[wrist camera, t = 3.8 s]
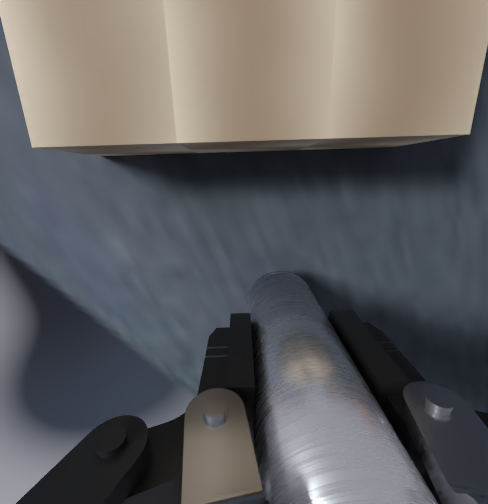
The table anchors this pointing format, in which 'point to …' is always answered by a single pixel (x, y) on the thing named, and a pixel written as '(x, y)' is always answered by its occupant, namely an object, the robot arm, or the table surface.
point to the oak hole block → (244, 73)
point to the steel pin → (318, 409)
